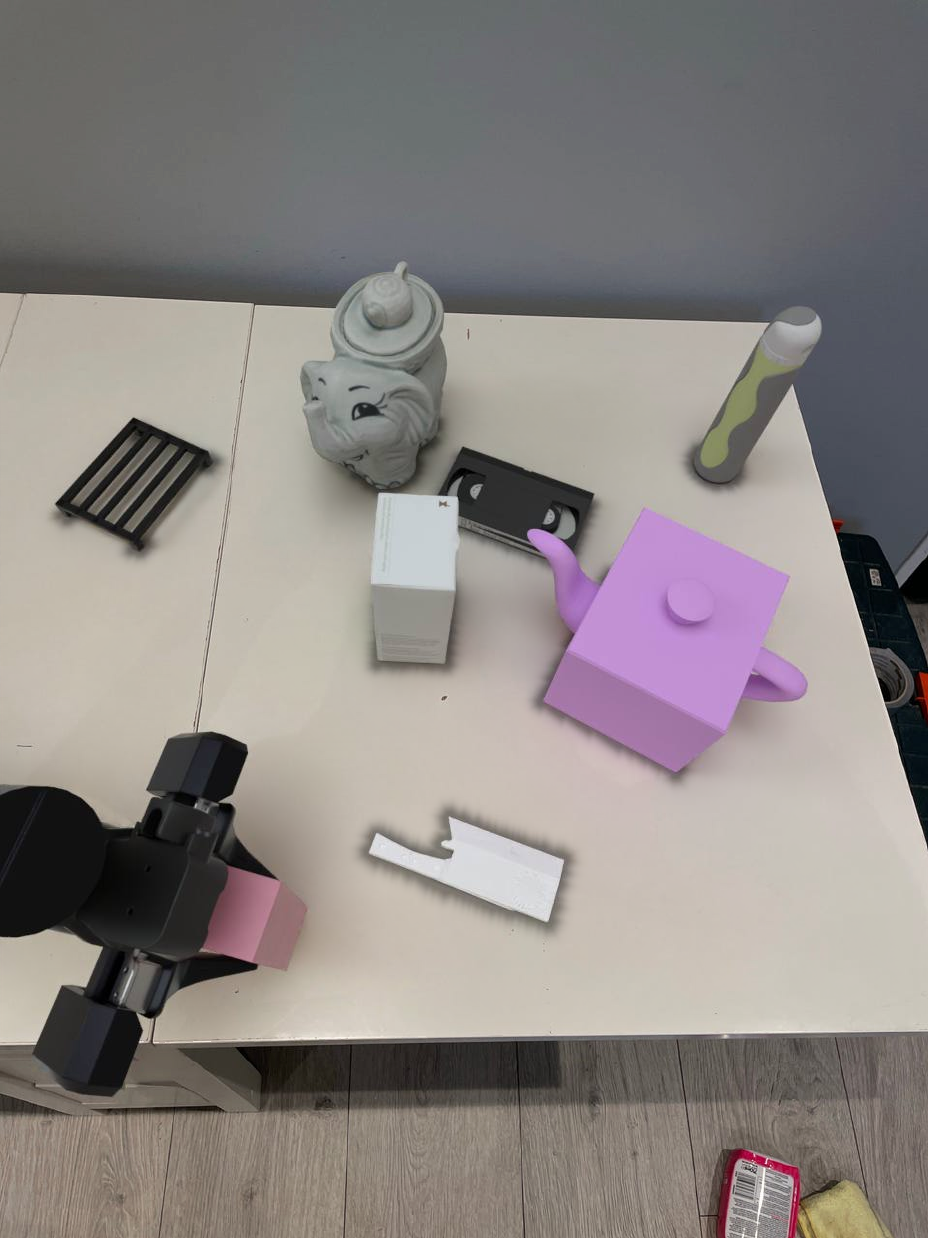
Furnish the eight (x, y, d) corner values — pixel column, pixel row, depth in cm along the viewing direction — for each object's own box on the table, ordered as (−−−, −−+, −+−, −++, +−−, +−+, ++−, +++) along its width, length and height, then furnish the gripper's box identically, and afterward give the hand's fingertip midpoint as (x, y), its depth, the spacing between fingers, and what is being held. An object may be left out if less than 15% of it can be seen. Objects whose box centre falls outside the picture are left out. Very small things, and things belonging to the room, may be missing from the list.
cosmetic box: (383, 583, 70) (375, 486, 56) (453, 587, 70) (461, 491, 56) (376, 665, 66) (365, 583, 52) (449, 668, 67) (457, 588, 53)
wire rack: (139, 551, 70) (133, 542, 68) (62, 514, 71) (54, 503, 70) (212, 462, 75) (208, 450, 73) (139, 428, 76) (133, 416, 75)
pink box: (219, 951, 52) (166, 937, 40) (243, 888, 54) (199, 857, 43) (286, 971, 52) (252, 963, 40) (308, 906, 54) (281, 881, 42)
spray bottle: (711, 492, 77) (800, 345, 59) (682, 458, 78) (761, 306, 60) (746, 474, 78) (844, 325, 60) (717, 441, 80) (804, 287, 62)
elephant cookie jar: (335, 537, 72) (309, 403, 55) (276, 427, 77) (236, 274, 60) (482, 476, 76) (500, 334, 59) (416, 376, 81) (415, 219, 64)
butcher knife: (393, 795, 61) (392, 792, 60) (564, 861, 60) (566, 859, 59) (368, 854, 59) (368, 852, 58) (545, 924, 58) (548, 923, 57)
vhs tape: (432, 516, 74) (432, 505, 72) (461, 458, 77) (462, 446, 75) (566, 566, 72) (570, 556, 70) (590, 504, 75) (594, 493, 73)
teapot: (546, 541, 73) (572, 451, 60) (783, 659, 69) (865, 589, 56) (472, 663, 67) (485, 592, 54) (728, 801, 63) (806, 758, 50)
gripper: (-31, 1123, 28) (291, 1141, 38) (168, 680, 36) (391, 786, 46) (-94, 1049, 36) (187, 1079, 45) (82, 695, 44) (289, 783, 53)
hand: (267, 926), depth 47 cm, fingers closed on pink box, 4 cm apart
